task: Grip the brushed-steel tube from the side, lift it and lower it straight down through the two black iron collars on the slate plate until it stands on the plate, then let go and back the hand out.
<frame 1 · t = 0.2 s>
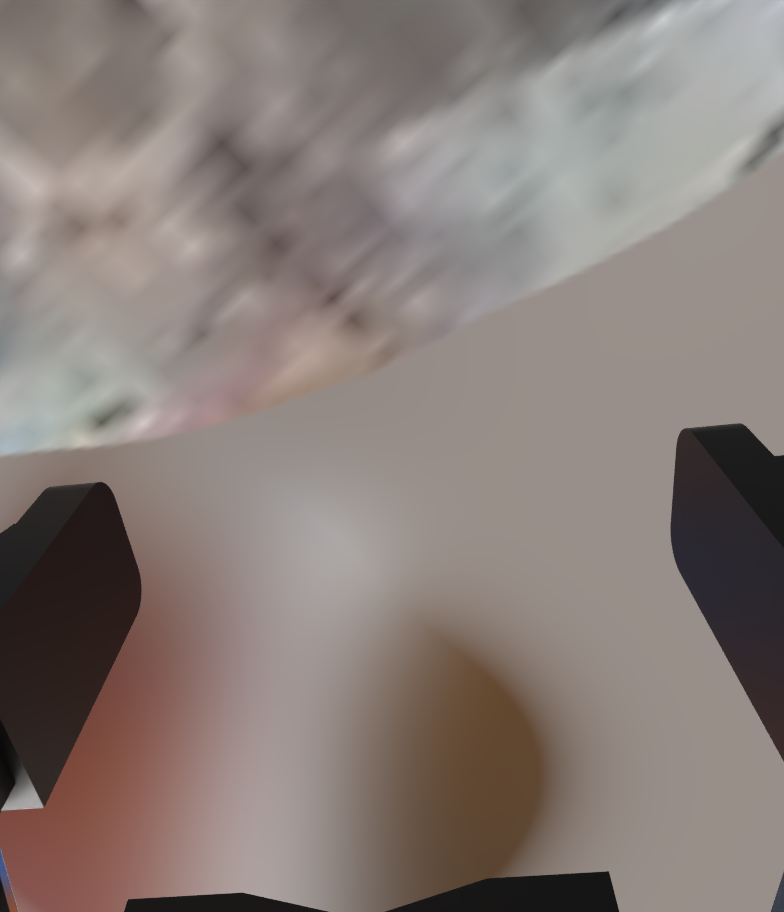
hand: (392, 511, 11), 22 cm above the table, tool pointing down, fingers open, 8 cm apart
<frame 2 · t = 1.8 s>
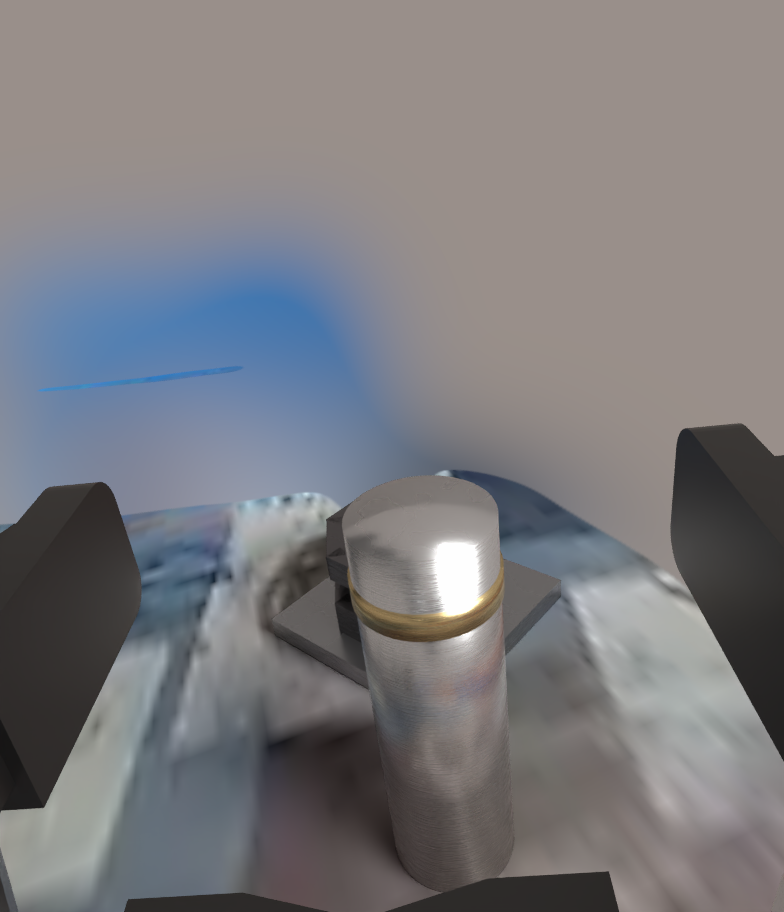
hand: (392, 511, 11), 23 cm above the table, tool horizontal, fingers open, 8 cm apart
collar stand: (418, 615, 44), on the table
steel tube: (454, 834, 31), on the table
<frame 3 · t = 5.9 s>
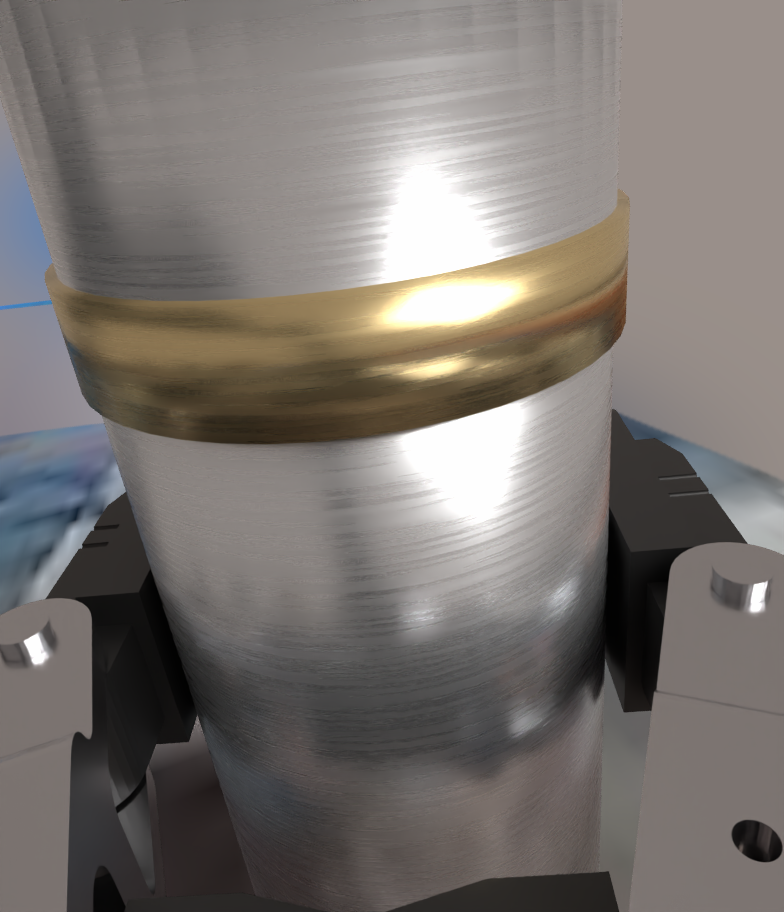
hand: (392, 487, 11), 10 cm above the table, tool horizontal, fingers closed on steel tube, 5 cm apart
when the fingers open (12 cm above the table, at t = 11.7 s): steel tube stays where it is, resting on collar stand.
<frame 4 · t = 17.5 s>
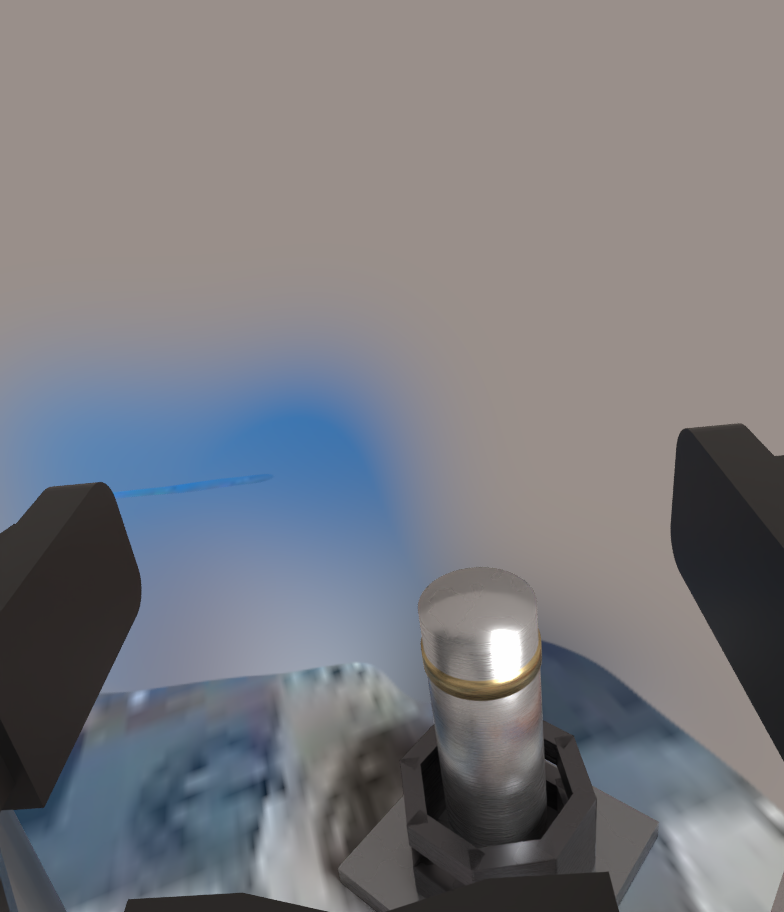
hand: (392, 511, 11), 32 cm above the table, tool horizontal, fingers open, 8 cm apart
collar stand: (499, 859, 39), on the table
steel tube: (500, 846, 39), point 1 cm above the table, touching collar stand
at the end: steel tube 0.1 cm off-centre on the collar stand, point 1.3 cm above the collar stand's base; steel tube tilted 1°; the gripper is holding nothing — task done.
